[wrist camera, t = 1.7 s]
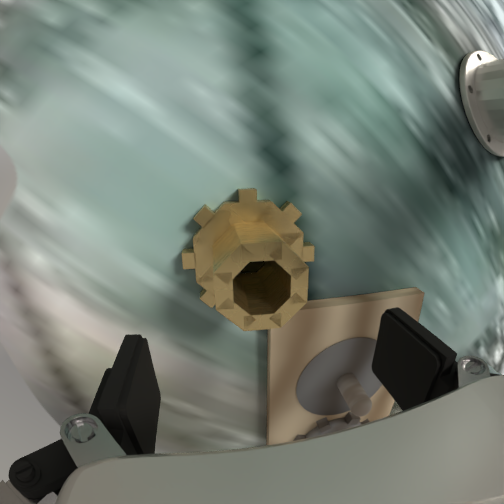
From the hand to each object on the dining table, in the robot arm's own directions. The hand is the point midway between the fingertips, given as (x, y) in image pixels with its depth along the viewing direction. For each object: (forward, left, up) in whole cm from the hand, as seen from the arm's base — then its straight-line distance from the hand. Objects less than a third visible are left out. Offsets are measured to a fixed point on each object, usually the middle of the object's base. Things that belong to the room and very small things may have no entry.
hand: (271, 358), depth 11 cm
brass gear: (-1, 0, -13) cm, 13 cm away
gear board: (-10, +17, -13) cm, 23 cm away
